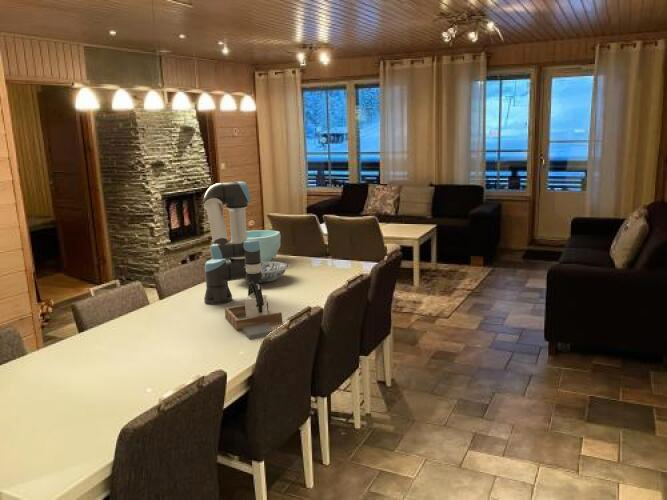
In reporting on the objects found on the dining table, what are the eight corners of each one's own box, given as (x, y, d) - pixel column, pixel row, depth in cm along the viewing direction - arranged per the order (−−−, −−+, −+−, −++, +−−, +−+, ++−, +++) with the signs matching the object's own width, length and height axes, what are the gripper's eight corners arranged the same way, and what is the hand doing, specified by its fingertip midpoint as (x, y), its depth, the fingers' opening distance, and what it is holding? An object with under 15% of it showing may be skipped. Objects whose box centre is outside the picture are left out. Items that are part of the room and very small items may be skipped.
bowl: (238, 260, 415) (235, 230, 411) (285, 258, 414) (283, 229, 409) (227, 271, 381) (225, 239, 376) (279, 269, 379) (277, 237, 375)
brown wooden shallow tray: (225, 317, 281) (224, 308, 280) (267, 310, 290) (267, 301, 289) (237, 331, 261) (236, 320, 260) (282, 323, 269) (281, 313, 268)
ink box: (262, 322, 271) (260, 295, 268) (246, 322, 273) (244, 295, 270) (268, 317, 279) (266, 291, 277) (251, 316, 281) (250, 290, 278)
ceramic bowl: (301, 277, 356) (300, 262, 354) (266, 291, 327) (265, 274, 325) (259, 272, 374) (258, 257, 372) (222, 285, 346) (221, 269, 344)
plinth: (242, 331, 260) (241, 327, 260) (267, 326, 265) (266, 322, 264) (249, 339, 249) (249, 335, 249) (275, 334, 254) (275, 330, 254)
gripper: (239, 268, 281) (242, 310, 285) (253, 278, 259) (256, 323, 264) (254, 266, 284) (257, 307, 288) (268, 275, 262) (271, 320, 266)
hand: (256, 315), depth 276 cm, fingers closed on ink box, 11 cm apart
